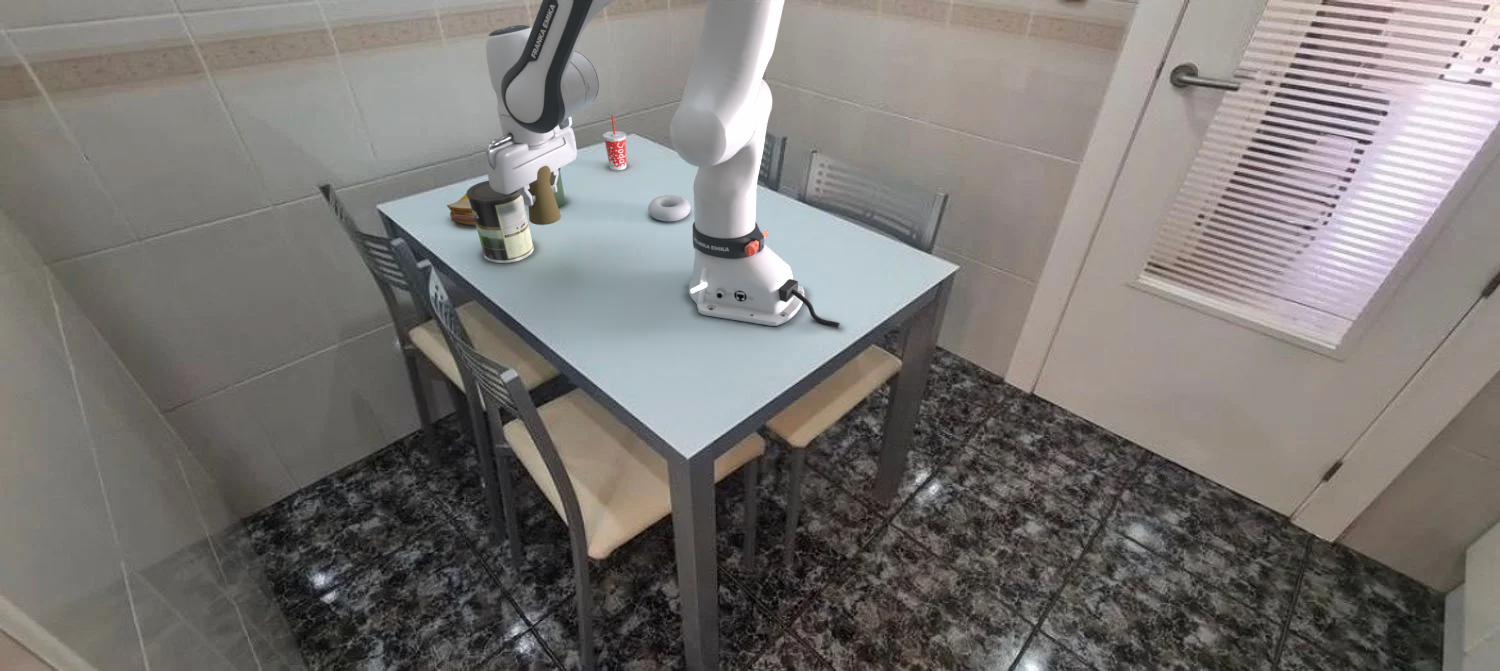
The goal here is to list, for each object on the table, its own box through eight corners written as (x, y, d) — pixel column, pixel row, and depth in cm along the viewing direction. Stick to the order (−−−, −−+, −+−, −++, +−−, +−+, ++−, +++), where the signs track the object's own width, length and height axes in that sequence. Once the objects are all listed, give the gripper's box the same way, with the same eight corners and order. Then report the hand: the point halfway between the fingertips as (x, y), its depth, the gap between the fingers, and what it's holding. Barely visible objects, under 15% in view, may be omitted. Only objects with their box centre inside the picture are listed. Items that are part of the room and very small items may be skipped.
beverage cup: (611, 172, 166) (604, 120, 157) (603, 165, 170) (597, 113, 162) (632, 169, 168) (627, 117, 160) (624, 161, 172) (619, 110, 164)
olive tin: (572, 200, 151) (566, 164, 146) (552, 212, 146) (545, 175, 140) (548, 194, 154) (541, 158, 148) (528, 206, 148) (520, 169, 143)
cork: (566, 213, 122) (557, 159, 115) (552, 226, 117) (542, 171, 111) (538, 209, 123) (527, 156, 116) (523, 222, 118) (511, 168, 111)
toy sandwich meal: (519, 208, 147) (514, 189, 144) (481, 232, 137) (476, 213, 134) (476, 200, 150) (471, 181, 147) (436, 223, 140) (430, 204, 137)
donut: (654, 227, 141) (696, 220, 144) (653, 213, 139) (695, 206, 142) (644, 209, 148) (684, 203, 151) (643, 196, 146) (683, 189, 149)
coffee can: (482, 266, 125) (464, 202, 117) (484, 243, 133) (467, 181, 124) (535, 260, 128) (521, 196, 119) (534, 237, 135) (520, 176, 127)
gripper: (499, 147, 101) (516, 223, 109) (577, 113, 116) (587, 182, 124) (470, 140, 103) (489, 216, 111) (550, 108, 118) (562, 177, 126)
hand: (541, 198), depth 118 cm, fingers closed on cork, 4 cm apart
